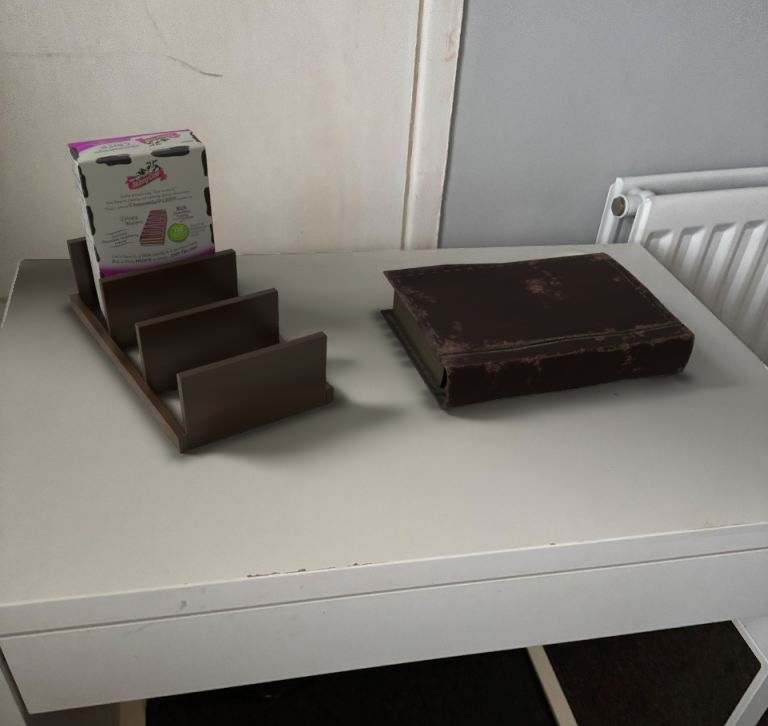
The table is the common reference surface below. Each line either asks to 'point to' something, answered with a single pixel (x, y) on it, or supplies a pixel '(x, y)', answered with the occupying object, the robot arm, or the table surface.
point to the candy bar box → (142, 200)
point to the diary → (531, 327)
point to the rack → (202, 345)
